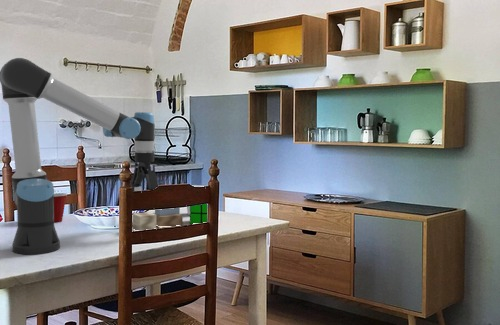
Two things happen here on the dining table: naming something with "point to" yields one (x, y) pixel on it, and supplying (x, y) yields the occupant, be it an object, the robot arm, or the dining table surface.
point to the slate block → (167, 211)
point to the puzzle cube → (198, 213)
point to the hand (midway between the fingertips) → (144, 205)
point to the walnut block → (169, 220)
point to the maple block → (144, 221)
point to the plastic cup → (59, 206)
